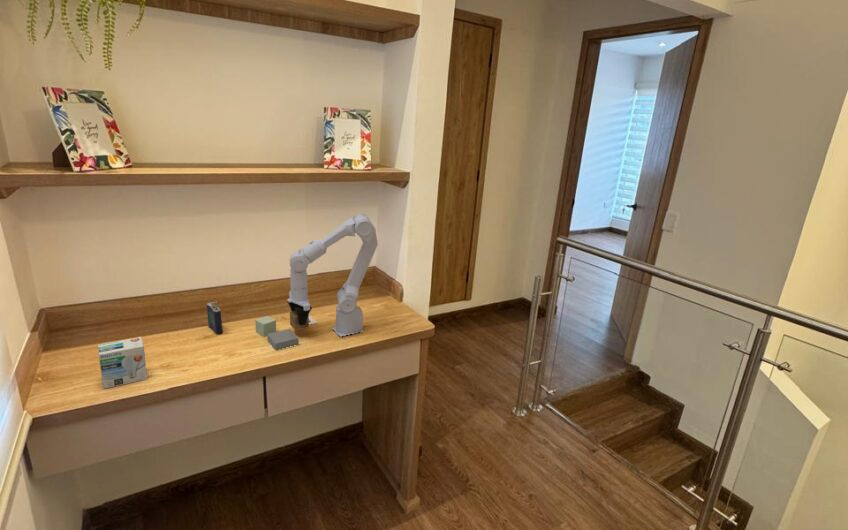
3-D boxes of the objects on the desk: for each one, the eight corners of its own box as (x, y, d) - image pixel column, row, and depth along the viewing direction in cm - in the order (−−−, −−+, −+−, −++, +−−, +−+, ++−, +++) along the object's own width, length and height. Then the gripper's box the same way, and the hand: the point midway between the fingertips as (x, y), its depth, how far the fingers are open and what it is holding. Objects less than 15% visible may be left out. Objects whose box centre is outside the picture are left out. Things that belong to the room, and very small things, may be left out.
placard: (309, 316, 177) (309, 315, 177) (317, 323, 172) (317, 322, 172) (292, 319, 173) (292, 318, 173) (299, 327, 168) (299, 325, 168)
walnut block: (303, 321, 166) (303, 309, 164) (308, 326, 162) (308, 314, 160) (290, 324, 163) (289, 311, 161) (295, 330, 159) (295, 317, 157)
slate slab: (289, 336, 161) (289, 328, 160) (298, 346, 155) (298, 338, 154) (267, 341, 157) (267, 333, 156) (275, 351, 151) (275, 343, 150)
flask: (207, 325, 163) (205, 298, 160) (215, 323, 165) (213, 296, 162) (216, 335, 157) (214, 307, 153) (225, 333, 159) (223, 305, 155)
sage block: (268, 328, 165) (267, 315, 164) (276, 332, 162) (275, 320, 161) (255, 332, 161) (255, 319, 160) (263, 337, 159) (263, 324, 157)
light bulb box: (103, 389, 124) (97, 355, 120) (102, 377, 129) (96, 344, 125) (148, 379, 130) (144, 346, 127) (145, 368, 135) (141, 336, 132)
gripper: (280, 281, 161) (281, 316, 165) (295, 295, 150) (296, 332, 154) (299, 278, 165) (299, 312, 169) (315, 291, 154) (315, 327, 158)
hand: (299, 321), depth 162 cm, fingers closed on walnut block, 5 cm apart
